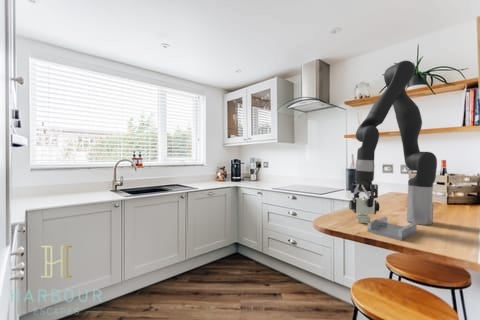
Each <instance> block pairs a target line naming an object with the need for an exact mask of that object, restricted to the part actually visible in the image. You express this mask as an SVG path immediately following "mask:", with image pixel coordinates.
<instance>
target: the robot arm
mask: <svg viewBox="0 0 480 320" xmlns="http://www.w3.org/2000/svg"><path fill="white" fill-rule="evenodd" d="M415 72H416V67H415V65H414V63H413V62H412V61H410V60H402V61H399V62H397V63H394V64H393V65H390V66H389V67H388V68H387V69H385V72H384V73H383V78H384V83H385V85H386V89H385V90H384V92H382V94H381V95H380V96H379V97H378V98H377V100H376V101H374V104H373V105H372V107H371V108H370V111H369V112H368V115H367V116H366V117H365V119H364V120H363V121H362V123H361V124H360V125H359V126H358V128H357V129H356V131H355V138H356V140H357V141H358V142H361V145H360V147H358V149H357V154H356V163H355V177H354V178H355V180H351V185H350V193H352V194H353V198H360V194H361V193H364V194H365V195H366V196H367V197H366V198H368V200H367V207H372V206H373V199H374V200H375V199H378V198H379V194H378V193H379V185H378V184H376V183H375V184H373V181H374V179H375V152H376V148H377V146H378V143H379V139H380V131H379V129H378V128H377V127H378V126H379V125H381V124H383V123H384V121H385V119H386V117H387V116H388V114H389V111H390V110H391V107H393V109H394V113H395V119H396V123H397V127H398V129H399V133H400V139H401V143H402V150H403V157H404V158H403V159H404V162H405V163H404V164H405V166H406V167H407V168H408V170H410V171H414V172H416V174H415V176H414V177H411V178H409V179H408V182H407V184H408V185H407V202H406V207H407V208H406V221H407V222H408V223H410V224H412V223H417V225H423V226H428V225H429V226H430V225H432V224H433V223H434V220H433V219H434V203H433V194H434V193H433V191H434V183H435V181H436V176H437V168H438V167H437V166H438V159H437V156H436V155H435V154H434V153H433V152H431V151H420V147H419V141H418V140H419V136H420V132H421V129H422V126H423V120H422V115H421V111H420V108H419V106H418V105H417V104H416V102H414V101H413V100H412V98H411V97H410V96H409V95H408V93H407V92H406V89H405V88H406V86H407V85H408V84H409V83H410V81H411V80H412V78H413V77H414V75H415Z"/></svg>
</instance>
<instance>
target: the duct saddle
mask: <svg viewBox="0 0 480 320" xmlns="http://www.w3.org/2000/svg"><path fill="white" fill-rule="evenodd" d="M417 225H418V224H417V223H409V224H408V225H406V226H404V225H403V226H402V225H397V224H393V223H389V222H388V217H387V216H383V217H380V218H377V219H375V220H374V219H373V220H370V222H368V224H367V232H368V233H372V234H375V235H380V236H383V237H386V238H389V239H390V238H391V239H394V240H398V241H403V240H405V239H407V238H410V237H411V236H412V235H414V234H417V228H418V227H417Z"/></svg>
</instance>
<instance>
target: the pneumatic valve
mask: <svg viewBox="0 0 480 320" xmlns="http://www.w3.org/2000/svg"><path fill="white" fill-rule="evenodd" d="M367 200H368V197H366V196H362V197H359V198H354V197H351V199H350V200H349V201H348V207H349V210H351V211H352V212H353V213H354V214H357V215H356V221H357V222H358V223H360V224H367V225H368V222H371V217H370V216H369V215H376V214H377V212H379V211H380V203H379V201H377V200H376V199H375V198H374V199H373V206H372V207H367Z"/></svg>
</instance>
